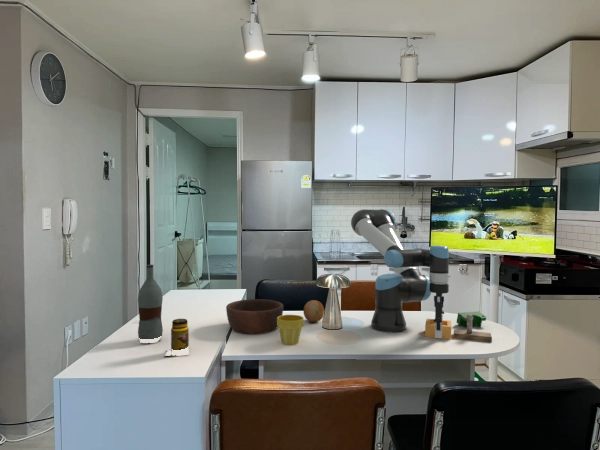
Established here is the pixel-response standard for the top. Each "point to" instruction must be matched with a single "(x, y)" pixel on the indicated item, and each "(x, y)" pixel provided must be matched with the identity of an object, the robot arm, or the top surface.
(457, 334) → the brown block with peg
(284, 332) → the plant pot
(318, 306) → the brown oval piece
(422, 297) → the robot arm
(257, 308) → the wooden bowl
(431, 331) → the orange hollow square frame
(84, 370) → the top surface
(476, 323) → the clamp
